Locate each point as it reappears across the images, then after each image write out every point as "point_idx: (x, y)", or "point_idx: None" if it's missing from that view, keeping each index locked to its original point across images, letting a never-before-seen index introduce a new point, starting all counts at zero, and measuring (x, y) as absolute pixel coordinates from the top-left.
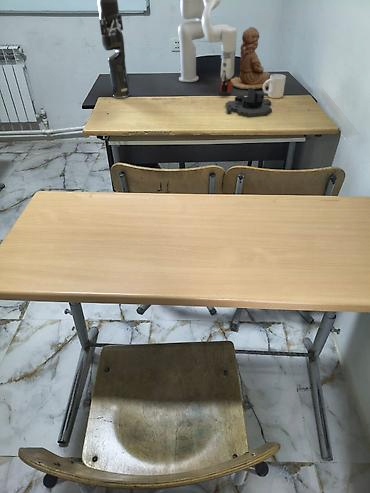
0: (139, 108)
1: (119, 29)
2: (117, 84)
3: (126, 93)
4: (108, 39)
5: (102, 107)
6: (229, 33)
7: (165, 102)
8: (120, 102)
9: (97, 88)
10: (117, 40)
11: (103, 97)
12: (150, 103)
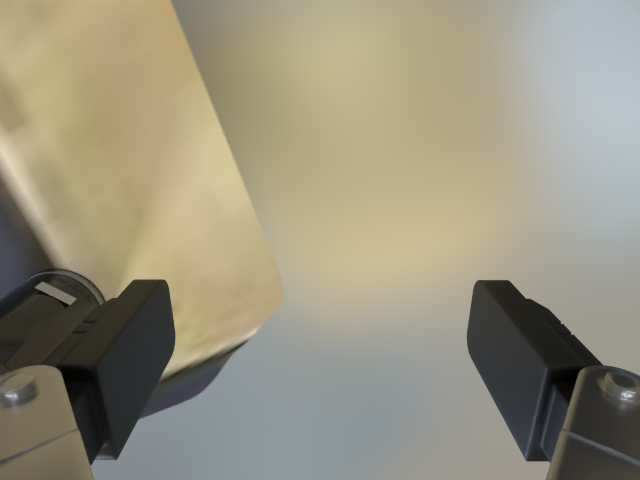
0: (175, 126)
1: (41, 423)
2: (63, 334)
3: (56, 279)
4: (582, 351)
5: (240, 306)
6: None
7: (18, 19)
8: (144, 264)
9: None
10: (166, 344)
11: None
12: (79, 104)
